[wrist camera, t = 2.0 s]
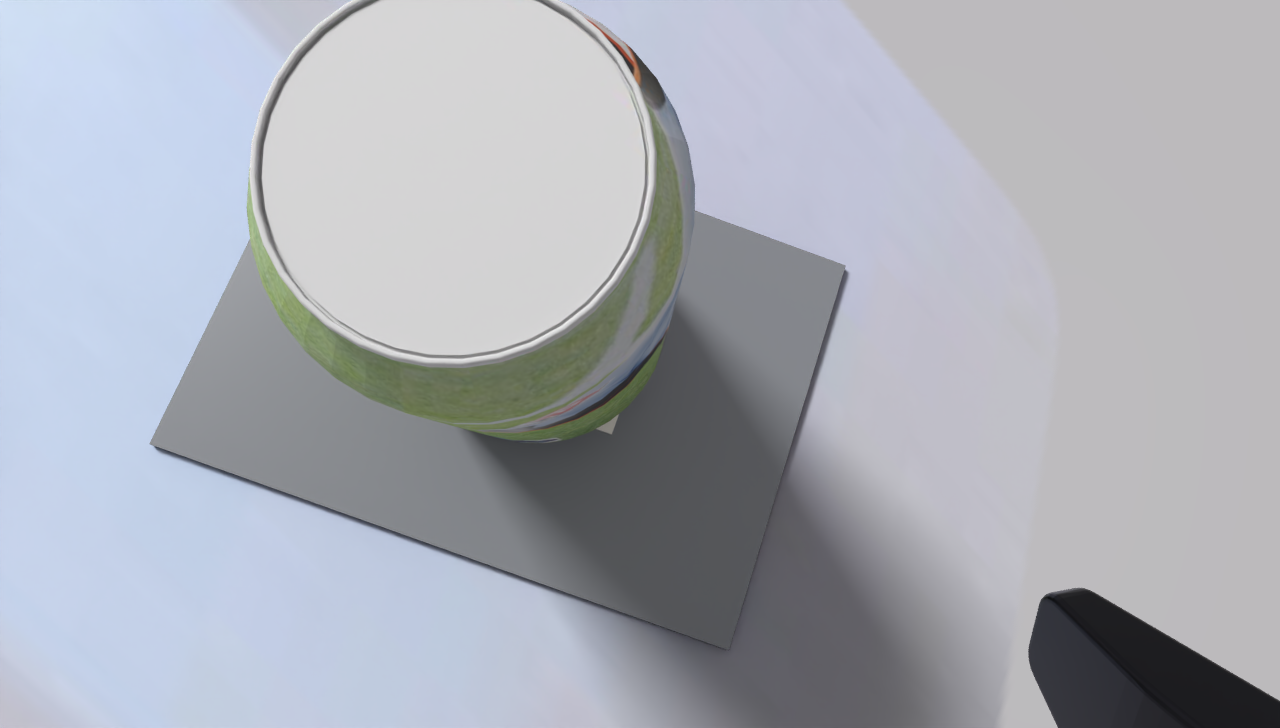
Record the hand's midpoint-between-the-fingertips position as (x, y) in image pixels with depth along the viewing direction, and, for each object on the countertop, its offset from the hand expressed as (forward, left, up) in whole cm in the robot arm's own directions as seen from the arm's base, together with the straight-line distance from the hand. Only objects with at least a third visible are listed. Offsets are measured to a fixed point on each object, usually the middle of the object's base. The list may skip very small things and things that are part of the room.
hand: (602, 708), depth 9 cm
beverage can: (+3, -6, -13) cm, 15 cm away
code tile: (+3, -6, -13) cm, 15 cm away
